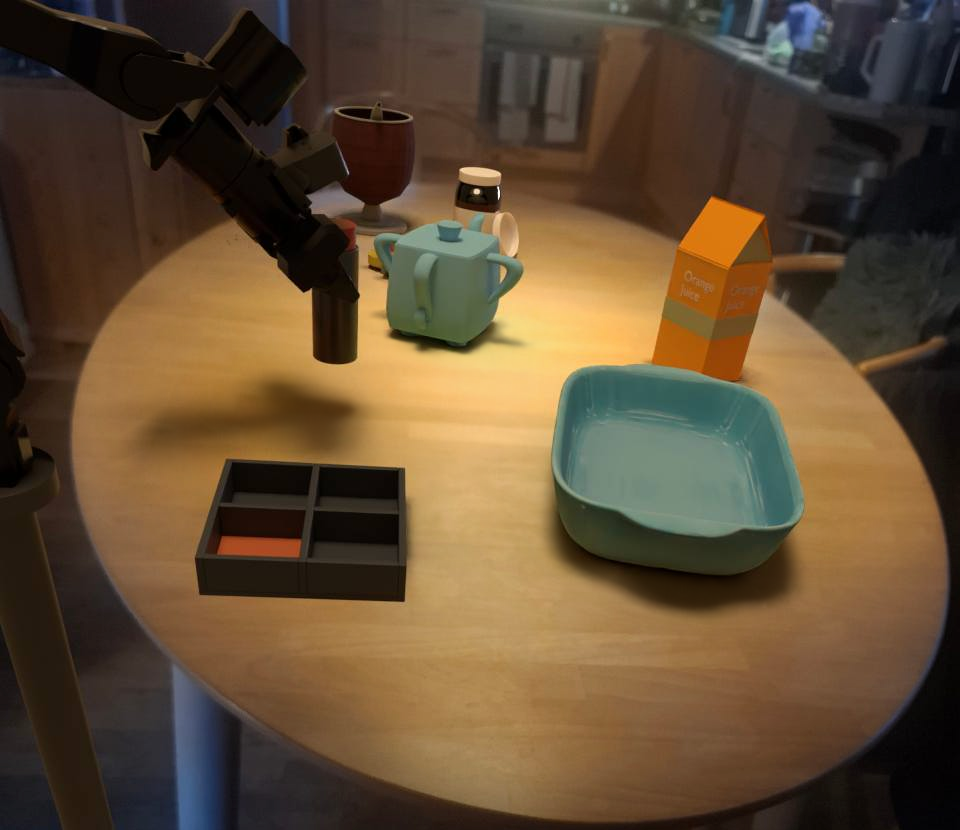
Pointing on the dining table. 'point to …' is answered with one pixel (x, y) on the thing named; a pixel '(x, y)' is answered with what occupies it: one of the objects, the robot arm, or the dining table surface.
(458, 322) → the teapot
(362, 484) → the tray
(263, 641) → the dining table surface
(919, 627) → the dining table surface
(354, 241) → the pepper grinder
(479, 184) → the spread jar
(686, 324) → the orange juice
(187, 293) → the dining table surface
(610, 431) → the casserole dish
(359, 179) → the mate gourd
